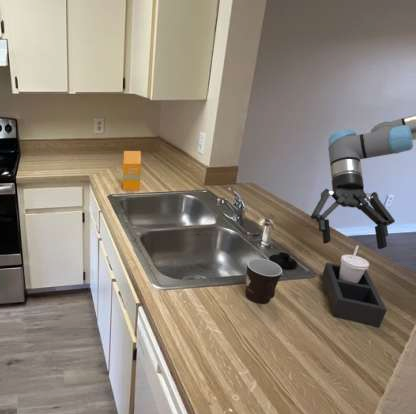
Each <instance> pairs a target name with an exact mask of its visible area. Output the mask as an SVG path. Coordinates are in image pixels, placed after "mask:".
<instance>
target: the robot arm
mask: <svg viewBox="0 0 416 414" xmlns="http://www.w3.org/2000/svg"><path fill="white" fill-rule="evenodd" d="M415 140H416V114H413V115H409V116H405V117H403V118H398V119H395V120H392V121H391V120H390V121H383V122H380V123H377V124H376V125H374V126H373V128H371V130H370V131H369V132H366V133H362V134H357V132H356V131H355V130H353V129H347V130H346V129H341V130H338V131H335V132H333V133H332V134H331V135H330V136H329V137H328V148H327V150H328V158H329V165H330V167H329V168H330V179H331V189H332V190H330V189H328V188H325V189H324V190H323V191H322V192H320V199H319V201H318V203H317V204H316V205H315V208H314V210H313V211H312V213H311V215H310V219H312V220H315V221H316V223H318V230H319V232H321V233H322V242H323V243H322V244H324V245H325V244H328V243H330V242H332V241H331V229H330V228H331V227H330V220H329V219H327V218H328V216H330V214H332V213H333V211H334V210H336V209H337V208H338V207H339V206H341V207H343V208H353V209H354V208H356V209H358V210H360V211H361V212H362V213H363V214H364V215H365V216H367V217H368V218H369V219H370V220H371V221H372V222H373V223H374V224H375V225H376V226H374V231H375V239H376V245H377V249H378V250H382V249H385V248H387V247H388V246H387V238H386V237H388V236H389V230H388V226H390V225H392V224H394V223H395V222H396V221H395V218H393V216H392V214H390V212H389V210H388V209H387V208H386V207H385V205H384V204H383V203H382V201H381V200H380V199H379V195H378V193H377V191H373V192H372V193H366V192H365V189H364V187H365V186H364V178H363V170H362V169H363V168H362V163H361V160H366V159H371V158H375V157H381V156H382V157H383V156H387V155H394V154H400V153H403V152H409V151H411V150H412V149H413V147H414V143H413V141H415ZM331 197H332V198H333V199H334V200H335V201H334V202H333V203H332V204H331V205H330V206H329V207H328V208H327V209H326V210H324V212H323V213H322V214H320V213H321V211H322V210H323V208H324V206H325V204H326V203H327V201H328V199H329V198H331Z"/></svg>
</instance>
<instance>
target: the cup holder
mask: <svg viewBox="0 0 416 414" xmlns="http://www.w3.org/2000/svg"><path fill="white" fill-rule="evenodd" d="M340 267H341V264H337V263H336V264H335V263H330V262H325V265H324V268H323V272H322V275H321V281H322V285H323V288H324V292H325V295H326V298H327V299H326V300H327V302H328V306H329V309H330V313H331V317H333V318H338V319H342V320H345V321H349V322H350V321H351V322H354V323H358V324H363V325H367V326H371V327H376V328H380V327H381V324H382V323H383V320H384V317H385V315H386V313H387V311H388V309H387V308H386V305H385V304H384V302H383V299H382V297H381V296H380V294H379V292H378V290H377V288H376V286H375V284H374V282H373V280H372V278H371V277H370V275H369V273H368V270H367V269H366V270H365V272H364V273H363V275H362V277H361V278H360V280H359V282H358V283H353V282H348V281H343V280H338V279H339V273H340Z"/></svg>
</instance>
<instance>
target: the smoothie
mask: <svg viewBox="0 0 416 414" xmlns="http://www.w3.org/2000/svg"><path fill="white" fill-rule="evenodd" d="M359 248H360V245H356V246H355V249H354V251H353V254H343V255H341V258H340V259H339V260H340V265H341V267H340V273H339V279H338V280H343V281H348V282H353V283H358V282H359V280H360V278H361V277H362V275H363V273H364V272H365V270H366V271H367V270H368V269H369V267H370V262H369V261H368V260H366V259H365V258H364V257H361V256H358V255H357V254H358V250H359Z"/></svg>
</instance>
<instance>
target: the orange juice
mask: <svg viewBox="0 0 416 414" xmlns="http://www.w3.org/2000/svg"><path fill="white" fill-rule="evenodd" d="M122 160H123V161H122V191H140V190H141V171H142V151H141V150H123V159H122Z"/></svg>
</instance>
